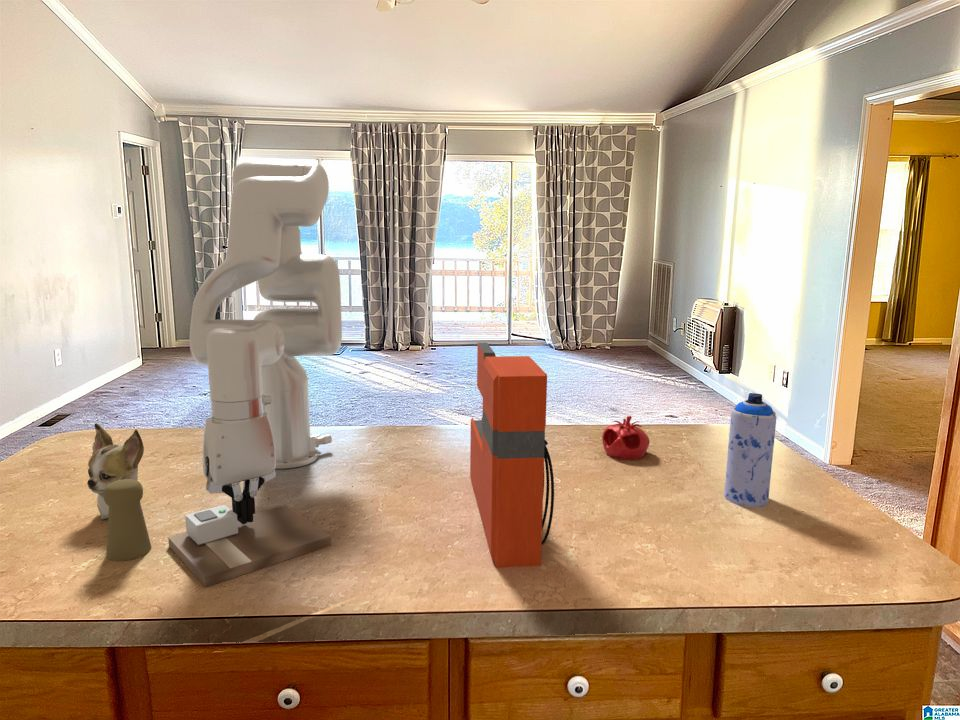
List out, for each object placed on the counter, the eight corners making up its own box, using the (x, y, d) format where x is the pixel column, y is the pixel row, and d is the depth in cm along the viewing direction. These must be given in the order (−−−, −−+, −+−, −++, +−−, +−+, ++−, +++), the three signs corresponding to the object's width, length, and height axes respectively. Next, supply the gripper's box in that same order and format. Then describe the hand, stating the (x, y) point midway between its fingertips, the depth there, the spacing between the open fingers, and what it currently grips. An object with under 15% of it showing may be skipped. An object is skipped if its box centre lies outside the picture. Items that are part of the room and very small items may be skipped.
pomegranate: (613, 446, 151) (615, 407, 149) (655, 455, 145) (658, 414, 144) (593, 458, 143) (595, 416, 141) (637, 468, 138) (640, 424, 136)
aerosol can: (769, 497, 123) (780, 392, 119) (768, 512, 116) (779, 401, 112) (724, 489, 126) (733, 387, 122) (720, 504, 119) (729, 396, 115)
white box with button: (225, 522, 106) (224, 503, 105) (238, 533, 102) (236, 513, 101) (186, 533, 102) (185, 513, 101) (198, 544, 98) (196, 524, 97)
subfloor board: (285, 512, 114) (285, 504, 114) (330, 544, 102) (330, 535, 102) (169, 546, 101) (168, 536, 101) (205, 587, 90) (204, 576, 90)
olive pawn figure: (160, 545, 102) (154, 477, 100) (128, 564, 96) (121, 492, 94) (130, 539, 104) (123, 472, 101) (96, 557, 98) (88, 486, 96)
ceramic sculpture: (70, 518, 111) (60, 432, 108) (115, 499, 119) (107, 418, 116) (117, 529, 107) (108, 440, 104) (160, 509, 115) (153, 425, 112)
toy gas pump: (514, 477, 131) (517, 336, 126) (556, 564, 97) (563, 375, 92) (467, 479, 130) (468, 336, 125) (492, 568, 96) (495, 376, 91)
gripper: (273, 395, 109) (278, 501, 113) (178, 411, 99) (187, 526, 103) (294, 404, 104) (299, 515, 107) (196, 422, 94) (204, 543, 97)
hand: (244, 520), depth 105 cm, fingers closed
